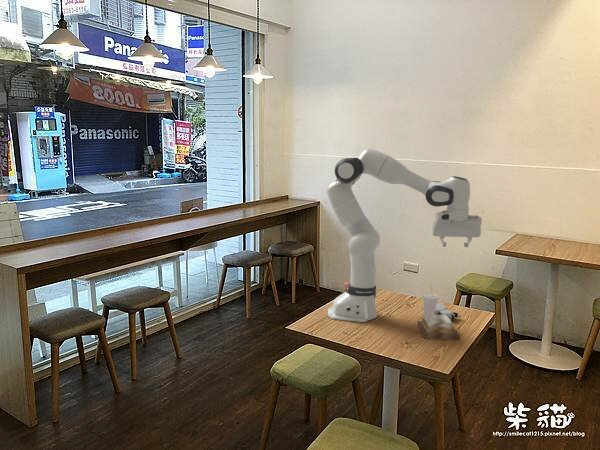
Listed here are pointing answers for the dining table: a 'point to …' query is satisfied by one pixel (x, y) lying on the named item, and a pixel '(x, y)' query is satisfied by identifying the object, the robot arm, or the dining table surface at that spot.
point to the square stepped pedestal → (437, 328)
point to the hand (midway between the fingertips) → (454, 246)
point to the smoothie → (429, 305)
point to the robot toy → (445, 311)
